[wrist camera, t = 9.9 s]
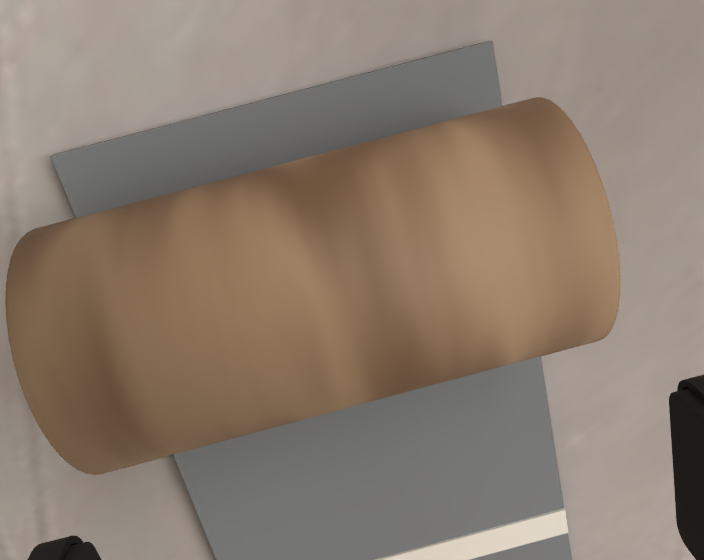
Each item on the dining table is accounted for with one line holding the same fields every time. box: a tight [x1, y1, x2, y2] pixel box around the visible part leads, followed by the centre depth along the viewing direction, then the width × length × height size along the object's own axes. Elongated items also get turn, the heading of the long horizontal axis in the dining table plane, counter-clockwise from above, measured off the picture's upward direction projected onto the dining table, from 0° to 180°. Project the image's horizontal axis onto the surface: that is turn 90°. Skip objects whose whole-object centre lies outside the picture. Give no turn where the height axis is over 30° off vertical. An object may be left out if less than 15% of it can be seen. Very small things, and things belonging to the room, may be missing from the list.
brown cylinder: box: [6, 98, 620, 475], centre depth 18 cm, size 14×7×7 cm, turn 104°
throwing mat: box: [50, 41, 572, 560], centre depth 25 cm, size 14×29×1 cm, turn 14°
